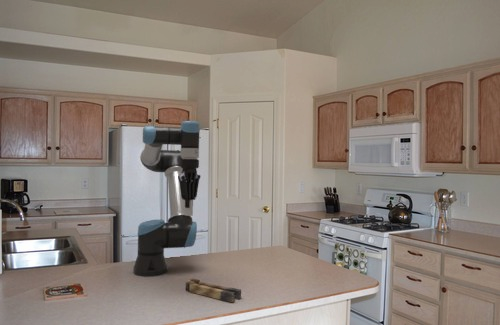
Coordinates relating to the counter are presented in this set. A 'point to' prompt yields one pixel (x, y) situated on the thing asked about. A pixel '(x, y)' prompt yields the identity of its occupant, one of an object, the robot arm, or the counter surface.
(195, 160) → the robot arm
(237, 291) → the base
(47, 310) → the counter surface
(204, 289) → the tong arm
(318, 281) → the counter surface
